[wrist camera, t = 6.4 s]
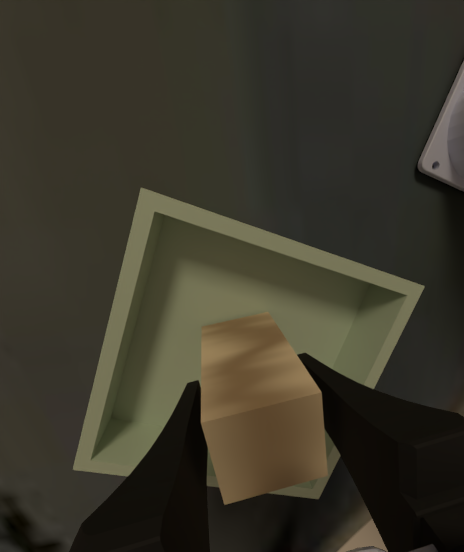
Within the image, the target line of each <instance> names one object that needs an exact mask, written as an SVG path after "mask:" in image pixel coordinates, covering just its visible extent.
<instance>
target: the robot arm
mask: <svg viewBox="0 0 464 552" xmlns="http://www.w3.org/2000/svg"><path fill="white" fill-rule="evenodd" d="M432 165H433V166H434V167H433V169H432ZM418 169H419V171H420V172H422V173H424V174H426V175H428V176H431V177H433V178H435V179H437V180H439V181H441V182H444V183H446V184H448V185H450V186H452V187H454V188H457V189H459V190H461V191H463V192H464V61H463V63H462V65H461V67H460V70H459V72H458V74H457V76H456V78H455V81H454V83H453V85H452V87H451V90H450V92H449V94H448V96H447V99H446V101H445V103H444V105H443V108H442V110H441V112H440V114H439V117H438V119H437V121H436V123H435V125H434V128H433V130H432V132H431V134H430V137H429V139H428V141H427V143H426V146H425V148H424V150H423V152H422V155H421V157H420V159H419V161H418ZM297 356H298V357H299V359H300V360H301V362H302V363H303V365H304V366H305V368H306V369H307V371H308V373H309V374H310V376H311V377H312V379H313V380H314V382H315V383H316V385H317V386H318V388H319V389H320V391H321V392H322V405H323V418H324V429H325V430H326V432H327V434H328V435H329V437H330V438H331V440H332V441H333V443H334V445H335V446H336V448H337V450H338V452H339V453H340V455H341V457H342V459H343V461H344V463H345V465H346V467H347V469H348V471H349V473H350V474H351V476H352V478H353V480H354V482H355V484H356V486H357V488H358V490H359V492H360V494H361V496H362V498H363V500H364V502H365V504H366V506H367V508H368V510H369V512H370V515H371V517H372V519H373V521H374V523H375V525H376V527H377V529H378V531H379V533H380V535H381V537H382V539H383V542H384V544H385V546H386V548H387V550H388V552H464V417H463V416H461V415H460V414H458V413H455V412H450V411H445V410H441V409H436V408H432V407H427V406H423V405H420V404H416V403H412V402H409V401H406V400H402V399H399V398H396V397H393V396H390V395H388V394H385V393H382V392H379V391H377V390H374V389H372V388H369V387H367V386H365V385H362V384H360V383H358V382H356V381H354V380H352V379H350V378H348V377H346V376H344V375H342V374H340V373H338V372H337V371H335V370H333V369H331V368H330V367H328V366H326V365H325V364H323V363H321V362H320V361H318V360H317V359H315V358H313V357H312V356H310V355H309V354H307V353H301V354H298V355H297ZM207 459H208V446H207V443H206V439H205V436H204V432H203V429H202V425H201V387H200V383H199V380H196V381H193V382H189V383H187V385H186V387H185V389H184V391H183V393H182V395H181V397H180V399H179V401H178V403H177V405H176V407H175V409H174V411H173V413H172V415H171V416H170V418H169V420H168V422H167V423H166V425H165V427H164V428H163V430H162V432H161V433H160V435H159V436H158V438H157V439H156V441H155V442H154V444H153V445H152V447H151V448H150V450H149V451H148V452H147V454H146V455H145V456H144V457H143V459H142V460H141V461H140V462H139V464H138V465H137V466H136V467H135V469H134V470H133V471H132V472H131V474H130V475H129V476H128V477H127V478H126V479H125V480H124V481H123V483H122V484H121V485H120V486H119V487H118V488H117V489H116V490H115V491H114V492H113V493H112V494H111V495H110V496H109V497H108V499H107V500H106V501H104V502H103V503H102V504H101V505H100V506H99V507H98V508H97V509H96V510H95V511H94V512H93V513H92V514H91V515H90V516H89V517H88V518H87V519H86V520H85V521H84V522H83V523H82V524H81V527H80V529H79V531H78V533H77V535H76V537H75V539H74V542H73V544H72V546H71V549H70V551H69V552H210V547H209V528H208V508H207ZM347 552H386V551H384V550H382V549H379V548H376V547H374V546H369V547H362V548H356V549H354V550H350V551H347Z"/></svg>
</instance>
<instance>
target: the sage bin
mask: <svg viewBox="0 0 464 552" xmlns="http://www.w3.org/2000/svg"><path fill="white" fill-rule="evenodd" d="M424 287H425V286H423V285H420V284H417V283H414V282H411V281H408V280H405V279H402V278H400V277H397V276H394V275H391V274H388V273H385V272H382V271H379V270H377V269H374V268H371V267H368V266H365V265H362V264H359V263H356V262H354V261H351V260H348V259H345V258H342V257H339V256H336V255H333V254H331V253H328V252H325V251H322V250H319V249H316V248H313V247H310V246H308V245H305V244H302V243H299V242H296V241H293V240H290V239H287V238H285V237H282V236H279V235H276V234H273V233H270V232H267V231H264V230H262V229H259V228H256V227H253V226H250V225H247V224H244V223H241V222H239V221H236V220H233V219H230V218H227V217H224V216H221V215H218V214H216V213H213V212H210V211H207V210H204V209H201V208H198V207H195V206H193V205H190V204H187V203H184V202H181V201H178V200H175V199H173V198H170V197H167V196H164V195H161V194H158V193H155V192H152V191H150V190H147V189H144V188H141V190H140V194H139V198H138V202H137V206H136V211H135V215H134V219H133V223H132V227H131V231H130V235H129V239H128V244H127V248H126V252H125V256H124V260H123V264H122V268H121V272H120V277H119V281H118V285H117V289H116V293H115V297H114V301H113V305H112V310H111V314H110V318H109V322H108V326H107V330H106V334H105V339H104V343H103V347H102V351H101V355H100V359H99V363H98V367H97V372H96V376H95V380H94V384H93V388H92V392H91V396H90V400H89V405H88V409H87V413H86V417H85V421H84V425H83V429H82V434H81V438H80V442H79V446H78V450H77V454H76V458H75V462H74V467H73V470H79V471H87V472H96V473H104V474H112V475H121V476H129V475H130V474H131V472H132V471H133V470H134V469H135V467H136V466H137V465H138V464H139V462H140V461H141V460H142V459H143V457H144V456H145V455H146V454H147V452H148V451H149V450H150V448H151V447H152V445H153V444H154V442H155V441H156V439H157V438H158V436H159V435H160V433H161V432H162V430H163V428H164V427H165V425H166V423H167V422H168V420H169V418H170V416H171V415H172V413H173V411H174V409H175V407H176V405H177V403H178V401H179V399H180V397H181V395H182V393H183V391H184V389H185V387H186V385H187V383H189V382H193V381H196V380H199V383H200V387H201V333H202V326H207V325H211V324H215V323H220V322H224V321H229V320H233V319H238V318H242V317H247V316H251V315H256V314H260V313H265V312H269V314H270V315H271V317H272V318H273V320H274V321H275V323H276V324H277V326H278V327H279V329H280V330H281V332H282V333H283V335H284V336H285V338H286V339H287V341H288V342H289V344H290V345H291V347H292V348H293V350H294V351H295V353H296V354H297V355H298V354H301V353H307V354H309V355H310V356H312V357H313V358H315V359H317V360H318V361H320V362H321V363H323V364H325V365H326V366H328V367H330V368H331V369H333V370H335V371H337V372H338V373H340V374H342V375H344V376H346V377H348V378H350V379H352V380H354V381H356V382H358V383H360V384H362V385H365V386H367V387H369V388H372V389H374V387H375V385H376V383H377V381H378V379H379V377H380V375H381V373H382V371H383V369H384V367H385V365H386V363H387V361H388V359H389V357H390V355H391V353H392V351H393V349H394V347H395V345H396V343H397V341H398V339H399V337H400V335H401V333H402V331H403V329H404V327H405V325H406V323H407V321H408V319H409V317H410V315H411V313H412V311H413V309H414V307H415V305H416V303H417V301H418V299H419V297H420V295H421V293H422V291H423V289H424ZM324 431H325V444H326V457H327V470H328V476H325V477H322V478H318V479H315V480H311V481H308V482H304V483H301V484H297V485H293V486H290V487H286V488H283V489H279V490H276V491H272V492H269V493H271V494H279V495H288V496H296V497H304V498H313V499H319V497H320V495H321V493H322V491H323V489H324V487H325V485H326V483H327V481H328V479H329V477H330V475H331V473H332V471H333V469H334V467H335V465H336V463H337V461H338V459H339V457H340V453H339V452H338V450H337V448H336V446H335V445H334V443H333V441H332V440H331V438H330V437H329V435H328V434H327V432H326V430H325V429H324ZM207 486H213V487H219V484H218V481H217V477H216V474H215V470H214V467H213V463H212V460H211V457H210V453H209V450H208V459H207Z"/></svg>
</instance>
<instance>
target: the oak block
mask: <svg viewBox="0 0 464 552" xmlns="http://www.w3.org/2000/svg"><path fill="white" fill-rule="evenodd" d="M201 425H202V429H203V432H204V436H205V439H206V443H207V446H208V450H209V453H210V457H211V460H212V463H213V467H214V470H215V474H216V477H217V481H218V484H219V488H220V491H221V495H222V498H223V502H224V505H226V504H230V503H233V502H237V501H240V500H244V499H247V498H251V497H255V496H258V495H262V494H265V493H269V492H272V491H276V490H279V489H283V488H286V487H290V486H293V485H297V484H301V483H304V482H308V481H311V480H315V479H318V478H322V477H325V476H328V470H327V457H326V444H325V431H324V418H323V405H322V392H321V391H320V389H319V388H318V386H317V385H316V383H315V382H314V380H313V379H312V377H311V376H310V374H309V373H308V371H307V369H306V368H305V366H304V365H303V363H302V362H301V360H300V359H299V357H298V356H297V354H296V353H295V351H294V350H293V348H292V347H291V345H290V344H289V342H288V341H287V339H286V338H285V336H284V335H283V333H282V332H281V330H280V329H279V327H278V326H277V324H276V323H275V321H274V320H273V318H272V317H271V315H270V314H269V312H265V313H260V314H256V315H251V316H247V317H242V318H238V319H233V320H229V321H224V322H220V323H215V324H211V325H207V326H202V333H201Z"/></svg>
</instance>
